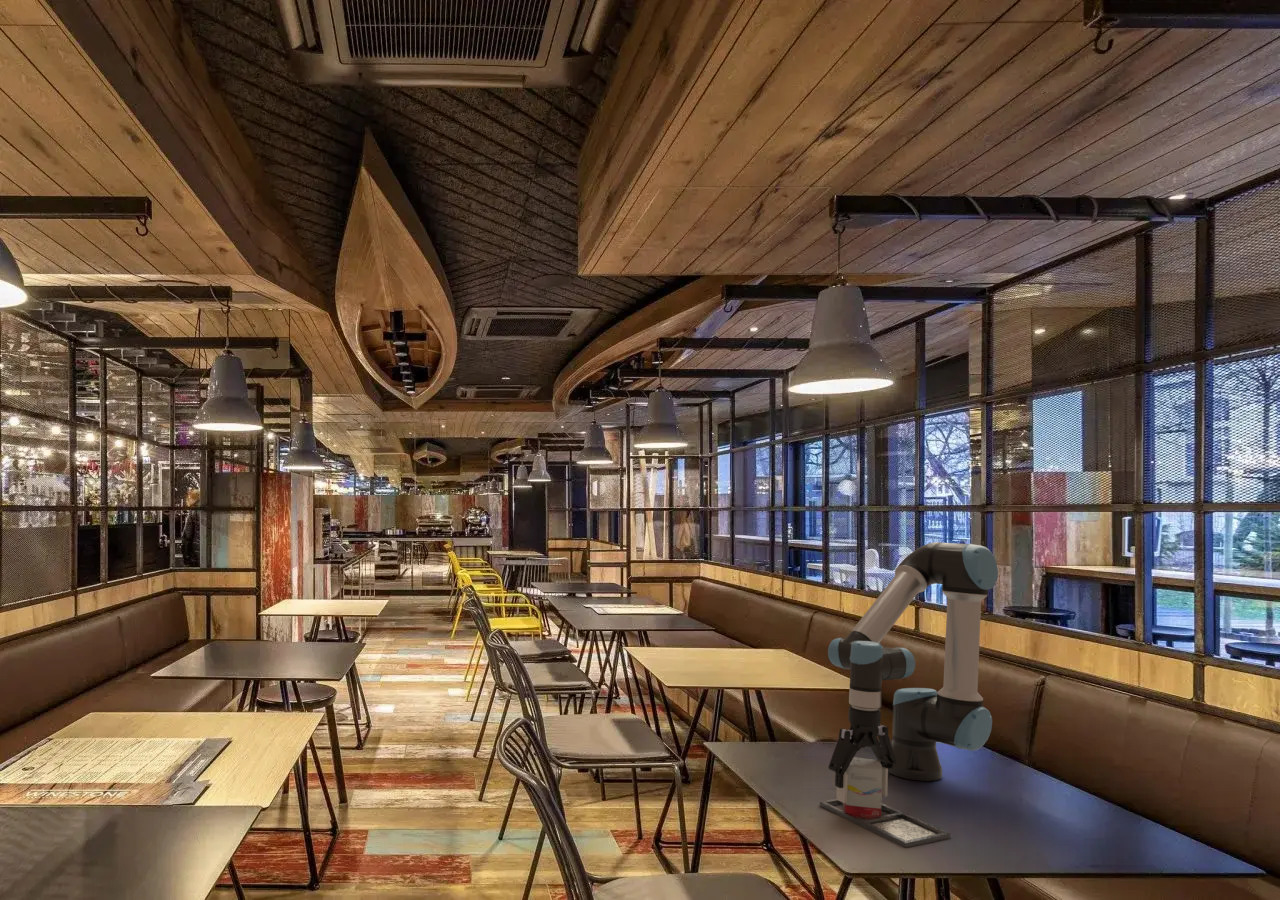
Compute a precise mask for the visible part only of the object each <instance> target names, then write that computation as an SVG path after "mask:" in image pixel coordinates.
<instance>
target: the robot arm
mask: <svg viewBox="0 0 1280 900" xmlns="http://www.w3.org/2000/svg"><path fill="white" fill-rule="evenodd" d="M998 578H999V569H998V563H997V560H996V558H995V555H993V552H992V551H991V550H990V549H989V548H987V546H983V545H980V544H973V543H954V542H953V543H952V542H940V541H936V542H929V543H927V544H924V545H922V546H920V547H918V548H917V549H915V550H913V551H912V552H911V553H910V554H908V555H907V556H906V557H905V558H904V559H903V560H902V561H901V562H900V563H899V565H898V566H897V567H896V568H895V569H894V577H892V580H890V582H889V583H888V584H887V585H886V587H885V588H884V589H883V591H882V592H881V593H880V595H878V596H877V598H876V599H875V601H874V602H873V603H872V604H871V606H870V607H869V608H868V610H867V611H866V612H865V613H864V614H863V616H862V617H861V618H860V619H859V621H858V622H857V624H855V626H854V627H853V628H852V629H851V631H850V633H849V634H848V635H847V636H846V637H845V638H844V637H838V638H835V639H834V638H833V640H831V642H830V643H829V646H828V647H827V648H828V650H827V656H828V660H829V662H830V663H831V664H832V665H833V666H835V667H837V668H841V669H844V670H849V691H848V693H849V694H848V704H849V707H848V718H847V719H848V722H849V723H850V727H849V729H845V728H840V729H839V733H838V739H837V742H836V745H835V748H834V750H833V753H832V756H831V759H830V761H829V764H828V769H829V770H830V771H832V772H834V773H835V775H834V776H835V779H834V785H835V787H836V796H835V797H836V798H835V799H836V800H838V801H840V802H843V803H847V779H848V774H845V772H846V770H847V768H848V767H849V765H850V763H851V761H852V759H853V758H854V757H856V754H857V752H858V751H860V750H861V749H863V748H866V747H868V748H870V750H871V751H872V753H873V754H874V756H875V757H876V760H880V763H881V766H882V797H888V788H889V787H888V785H889V784H888V783H889V782H888V781H890V780H889V779H890V775H893V776H895V777H899V778H902V779H907V780H913V781H921V782H931V781H932V782H933V781H938V780H940V779H942V777H943V766H942V765H941V761H940V759H939V754H938V751H937V742H938V743H941V744H946V745H948V746H951V747H954V748H957V749H959V750H962V749H963V750H967V751H972V752H973V751H977V750H979V749H981V748H982V747H983V746H984V745H985V743H987V741H988V740H989V737H990V735H991V732H992V728H993V727H992V726H993V717H992V715H991V712H990V711H989V709H987V708H986V707H984V698H983V696H982V695H981V694H980V693H979V691H978V688H979V686H978V685H979V665H980V664H979V661H980V641H981V640H980V638H981V618H982V617H981V615H982V612H981V611H982V602H983V600H984V599H985V598H987V597H988V595H989V594H988V593H989V592H988V591H989V590H991V589H993V588H994V587H996V582H997V581H998ZM935 584H938V585H941V592H942V593H943V594H944V596H946V600H947V601H946V621H945V622H946V624H945V643H944V645H945V646H944V647H945V648H944V665H943V666H944V668H943V686H942V688H940V689H939V690H938V691H937V690H936V689H934V688H928V687H927V688H926V687H906V688H900V689H897V690H896V691H895V692H894V694H893V701H892V702H893V703H892V711H893V712H892V740H890V737H889V727H888V726H886V725H882V724H881V722H882V721H881V720H882V719H881V718H882V717H881V716H882V713H881V712H882V710H881V709H880V708H881V707H882V683H883V681H889V680H901V679H904V678H908V677H910V676H912V675H913V674H914V671H915V669H916V660H915V657H914V655H913V653H912V652H911V651H910V650H909V649H907V648H906V647H898V646H895V647H887V646H882V644H881V642H882V641H883V639H884V638H885V637H886V635H887V634H888V633H889V631H890V630H891V629H892V627H894V625H895V623H896V622H897V620H899V619H900V617H901V616H902V614H904V612H905V610H906V609H907V608H908V606H909V605H910V604H911V603H912V602H913V601H914V599H915V598H916V596H917V595H918V594H919V593H923V592H925V591H926V589H928V587H929V586H931V585H935ZM891 741H892V742H891Z"/></svg>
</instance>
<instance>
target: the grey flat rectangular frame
mask: <svg viewBox="0 0 1280 900" xmlns="http://www.w3.org/2000/svg"><path fill="white" fill-rule="evenodd" d="M838 805H843V802H840V801H838V800H836V798H834V799H827V800H821V801H819V807H821V808H823V809H826V810H828V811H829V812H831V813H833V814H836V815H837V816H840V817H842V818H844V819H846V820H848V821H850V822H853V823H854V824H856V825H858V826H860V827H863V829H866V830H868V831H871V832H872V833H874V834H877V835H879V836H880V837H883V838H884V839H887V840H889V841H891V842H894V843H895V844H898V845H899V846H901V847H903V848H906V849H907V848H911V847H915V846H921V845H925V844H930V843H935V842H937V841H938V842H939V841H943V840H947V839H951V833H950V832H948V831H946V830H944V829H941V828H939V827H937V826H935V825H932V824H930V823H927V822H925V821H924V820H921V819H919V818H917V817H914V816H913V815H910V814H907V813H905V812H903V811H900V810H898V809H896V808H894V807H891V806H889V805H887V804H885V803H883V802H881V811H882V810H883V811H885V812H887V813H889V814H884V815H881V816H878V817H873V818H860V817H855V816H853V815H851V814H849V813H847V812H845V811H844V809H843V810H842V809H840V808H839V807H837V806H838Z"/></svg>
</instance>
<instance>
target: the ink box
mask: <svg viewBox="0 0 1280 900" xmlns="http://www.w3.org/2000/svg"><path fill="white" fill-rule="evenodd" d="M845 774H848V779H847V803H843V804H842V806H843V811H845V812H847V813H849V814H851V815H853V816H855V817H857V818H859V819H868V818H873V817H878V816H882V809H881V803H883V802H882V800H883V799H882V797H883V795H882V765H881V763H880V760H878V759H871V758H865V757H858V756H854V758H853V759H852V761H851V763H850V765H849V767H848V768H847V770H846V772H845Z"/></svg>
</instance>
